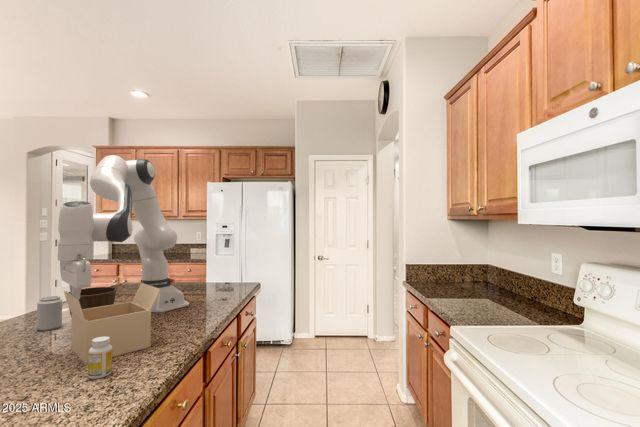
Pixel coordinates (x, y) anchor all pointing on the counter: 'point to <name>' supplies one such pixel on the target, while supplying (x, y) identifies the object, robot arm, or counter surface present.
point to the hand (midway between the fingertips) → (75, 299)
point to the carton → (112, 328)
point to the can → (49, 313)
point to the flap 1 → (74, 306)
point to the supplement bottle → (100, 358)
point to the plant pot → (96, 297)
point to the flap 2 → (146, 295)
